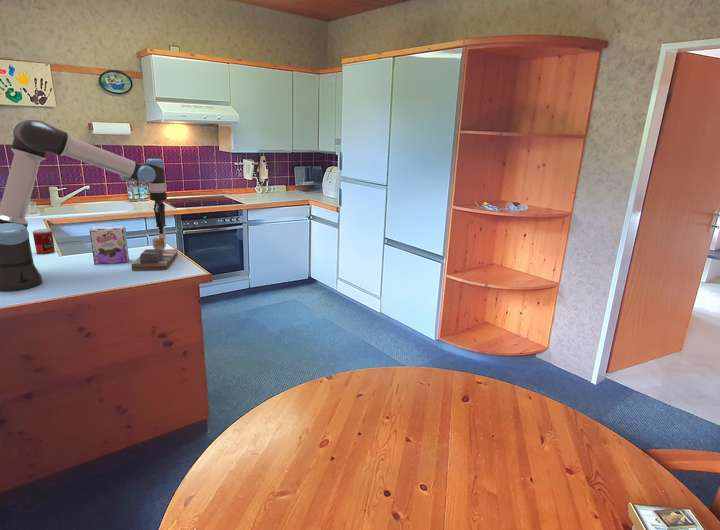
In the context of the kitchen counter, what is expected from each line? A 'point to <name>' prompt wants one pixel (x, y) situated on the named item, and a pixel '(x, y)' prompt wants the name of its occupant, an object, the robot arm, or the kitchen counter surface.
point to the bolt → (159, 243)
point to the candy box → (109, 245)
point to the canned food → (43, 241)
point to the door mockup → (154, 260)
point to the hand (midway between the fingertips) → (162, 239)
